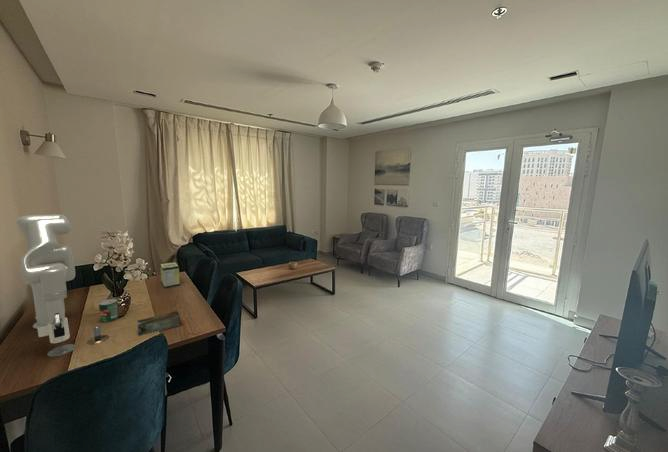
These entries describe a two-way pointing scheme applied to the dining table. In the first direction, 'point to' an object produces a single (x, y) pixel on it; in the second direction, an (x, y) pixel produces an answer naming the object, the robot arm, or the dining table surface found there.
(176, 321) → the beverage carton
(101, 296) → the dining table surface
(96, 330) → the post
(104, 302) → the canned tomato
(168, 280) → the protein box
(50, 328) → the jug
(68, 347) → the coaster
